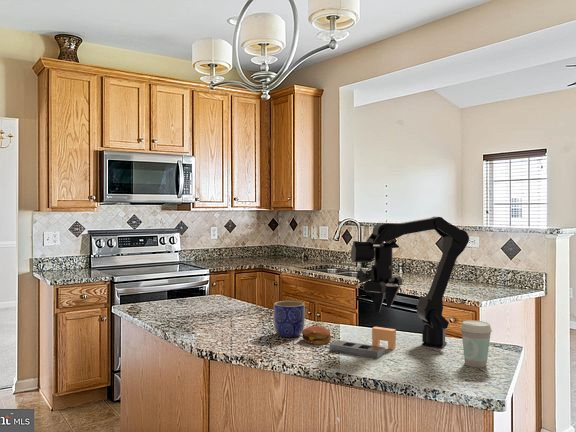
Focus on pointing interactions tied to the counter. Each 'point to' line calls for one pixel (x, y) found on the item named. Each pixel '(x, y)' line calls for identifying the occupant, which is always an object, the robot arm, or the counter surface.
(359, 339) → the counter surface
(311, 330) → the burger
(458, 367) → the counter surface
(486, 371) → the counter surface
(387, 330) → the clip
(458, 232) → the robot arm
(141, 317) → the counter surface
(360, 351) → the rail
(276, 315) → the planter
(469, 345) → the coffee cup
